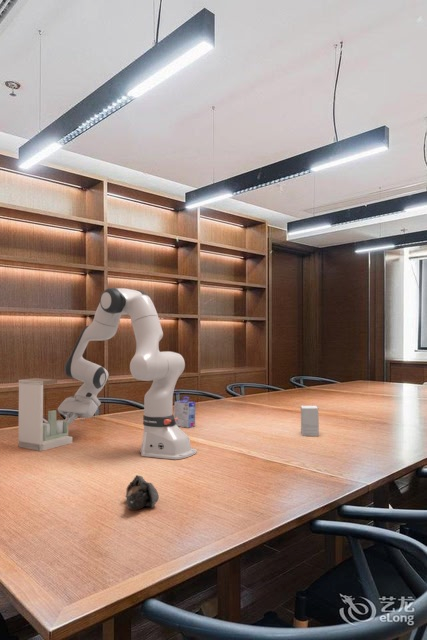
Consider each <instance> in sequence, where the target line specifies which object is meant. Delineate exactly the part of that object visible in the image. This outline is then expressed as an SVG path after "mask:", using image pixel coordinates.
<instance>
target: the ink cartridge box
mask: <svg viewBox="0 0 427 640" xmlns="http://www.w3.org/2000/svg"><path fill="white" fill-rule="evenodd" d="M189 400H190V396H186V395H185V396H183V397H182V400H177V401H174V405H173V406H174V410H173V411H174V412H173V415H174V418H177V417H178V418H177V419H176V420H177V421H176V425H177V426H178V427H179V428H180V427H181V428H187V429H188V428H189V429H190V428H195V427H196V401H189Z"/></svg>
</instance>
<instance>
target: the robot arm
mask: <svg viewBox="0 0 427 640" xmlns="http://www.w3.org/2000/svg"><path fill="white" fill-rule="evenodd" d="M123 315H126V316H127V315H129V318H130V321H131V325H132V330H133V334H134V336H135V337H134V338H135V342H136V344H135V345H136V347H135V353H134V355H133V357H132V359H131V360H130V362H129V363H130V364H129V371H130V374H131V375H132V378H134V379H135V380H137V381H144V382H145V381H146V382H150V381H152V383H151V386H150V388H149V389H148V390H147V392H146V393H145V394H144V397H143V398H144V400H143V401H144V402H143V403H144V404H143V405H144V408H143V409H144V410H143V411H144V412H143V413H144V414H143V415H142V416H143V417H142V424H143V434H142V442H141V447H140V451H139V452H140V453H141V454H140V456H141V457H146V458H148V457H149V458H157V459H165V460H166V459H167V460H180V459H181V460H182V459H186V458H189V457H191V456H194V455H195V454H196V453H197V449H196V448H192V447H191V441H190V437H189V435H187V433H185V432H184V431H183V429H181V428H180V426H177V425H176V421H177V420H176V419H177V418H178V417H177V418H174V413H173V403H174V402H173V397H174V391H175V387H176V384H177V381H178V380H179V377H181V375H182V374H183V372H184V370H185V368H186V367H185V366H186V363H185V359H184V357H183V355H182V354H180V353H178V352H175V351H169V350H168V351H167V350H166V351H160V348H159V347H160V346H159V345H160V341H161V340H162V339H163V337H164V332H163V328H162V324H161V321H160V317H159V314H158V312H157V310H156V307H155V304H154V302H153V301H152V298H150V296H149V295H148V294H147V293H146V292H144V291H142V290H138V289H137V290H136V289H132V288H126V287H125V288H123V287H121V288H119V287H117V288H115V287H110V288H106V289H104V290H103V291H102V292H101V295H100V298H99V304H98V306H97V308H96V310H95V314H94V317H93V320H92V322H91V323H90V324H89V325H86V326H85V327H84V328H83V329H82V330H81V332H80V334H79V337H78V338H77V340H76V343H75V345H74V346H73V349H72V350H71V353H70V355H69V357H68V359H66V362H65V364H64V366H63V368H64V373H65V375H66V377H68V378H72V379H74V380H78V381H80V382H83V384H81V385H80V386H79V388H78V390H77V391H76V392H75V393H74V395H72V396H69V397H66V398H64V400H63V401H62V402H60V405H59V406H58V407H57V412H58V413H59V414H60V415H64V416H65V419H64V421H68V425H71V424H72V423H73V422H74V421H75V420H77V419H78V417H79V418H86V419H91V418H92V417H93V416H94V415H95V413H96V412H97V411H98V408H99V407H100V405H102V404H101V400H100V399H99V398H98V394H99V393H100V392H101V391H102V390H103V388H104V386H105V385H106V383H107V381H108V378H109V375H110V374H109V372H108V370H107V369H106V368H105V367H104V366H102V365H100V364H97V363H96V362H95V363H94V362H92V361H89V360H87V359H85V358H84V357H83V355H84V353H85V351H86V348H87V346H88V344H89V342H92V341H107V340H110V339H112V338H113V337H115V336H116V334H117V332H118V329H119V326H120V325H119V324H120V321H121V317H122V316H123Z"/></svg>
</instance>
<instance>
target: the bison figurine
mask: <svg viewBox="0 0 427 640" xmlns="http://www.w3.org/2000/svg"><path fill="white" fill-rule="evenodd" d="M157 490H158V489H156V488H155V486H154V485H153V483H152V482H147V481H146V480H145V479H144V477H143V476H142V475H136V476H135V477H134V478H133V479H132V481H131V482H129V483H128V485H127V486H126V491H125V492H126V493H125V498H126V499H125V503H126V507H127V509H129V510H132V511H135V510H136V511H137V510H140V509H142V508H145V507H149V508H151V509H152V508H153V507H154V506H155V505H156V504H157V502H158V501H159V500H160V499H159V497H160V494H159V492H158V491H157Z"/></svg>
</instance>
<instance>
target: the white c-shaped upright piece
mask: <svg viewBox="0 0 427 640" xmlns="http://www.w3.org/2000/svg"><path fill="white" fill-rule="evenodd" d="M55 384H58V379H53V378H38V377H34V378H33V377H32V378H22V379H18V448H23V449H29V450H33V451H37V452H43V451H46V450H50V449H51V450H52V449H54V448H58V447H61V446H66V445H70V444H73V436H69V435H68V436H64V437H60V438H56V439H51V440H47V441H43V423H44V386H46V385H55Z"/></svg>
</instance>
